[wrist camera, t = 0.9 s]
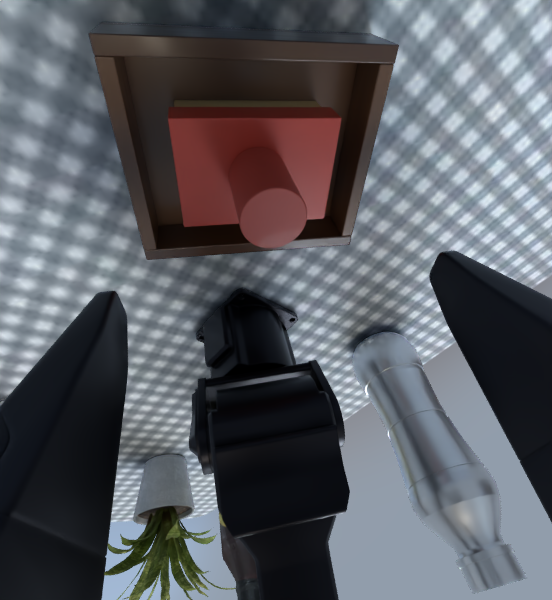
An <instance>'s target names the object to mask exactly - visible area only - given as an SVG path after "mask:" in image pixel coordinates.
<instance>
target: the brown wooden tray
mask: <svg viewBox="0 0 552 600" xmlns="http://www.w3.org/2000/svg"><path fill="white" fill-rule="evenodd" d="M89 38H90V42H91V46H92V49H93V53H94V55H95V61H96V65H97V69H98V73H99V77H100V81H101V85H102V89H103V92H104V96H105V100H106V104H107V108H108V112H109V116H110V120H111V123H112V127H113V131H114V135H115V139H116V143H117V147H118V151H119V155H120V158H121V162H122V166H123V170H124V174H125V178H126V182H127V186H128V189H129V193H130V197H131V201H132V205H133V209H134V213H135V217H136V221H137V224H138V228H139V232H140V236H141V240H142V244H143V248H144V251H145V255H146V259H147V260H152V259H166V258H179V257H192V256H205V255H219V254H232V253H245V252H258V251H272V250H285V249H298V248H311V247H325V246H338V245H349V244H350V240H351V235H352V232H353V228H354V224H355V219H356V215H357V211H358V207H359V203H360V199H361V195H362V191H363V187H364V183H365V179H366V175H367V171H368V167H369V163H370V159H371V155H372V151H373V147H374V143H375V139H376V135H377V131H378V127H379V123H380V119H381V115H382V111H383V107H384V103H385V99H386V95H387V91H388V87H389V83H390V79H391V75H392V71H393V66H394V65H393V64H394V63H395V59H396V55H397V51H398V47H399V45H398V44H395V43H393V42H390V41H388V40H385V39H383V38H380V37H378V36H375V35H373V34H362V33H340V32H317V31H294V30H271V29H248V28H225V27H203V26H180V25H157V24H134V23H111V22H101V23H100V24H99V25H98V26H96V27H95V28H94V29H93V30H92V31H91V32H90V33H89ZM174 100H253V101H316V102H317V103H318V104H319V105H320V106H321V107H331V108H332V109H333V110H334V111H335V112H336V113H337V114H338V115H339V116H340V117H341V118H342V119H341V125H340V130H339V136H338V142H337V148H336V153H335V159H334V165H333V170H332V176H331V182H330V187H329V193H328V199H327V205H326V210H325V216H324V218H323V219H308V220H307V221H306V224H305V226H304V228H303V230H302V232H301V233H300V234H299V236H298V237H296V238H295V239H294V240H293V241H292V242H290V243H288V244H286V245H284V246H281V247H277V248H262V247H259V246H256V245H254V244H252V243H251V242H249V241H248V240H247V239H246V238H245V237H244V235H243V234H242V232H241V229H240V225H239V224H225V225H208V226H191V227H184V224H183V217H182V211H181V204H180V197H179V191H178V184H177V177H176V171H175V164H174V157H173V151H172V144H171V137H170V131H169V124H168V108H169V107H174Z"/></svg>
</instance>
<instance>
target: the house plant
mask: <svg viewBox="0 0 552 600" xmlns="http://www.w3.org/2000/svg"><path fill="white" fill-rule="evenodd" d="M194 509H195V508H194V502H193V497H192V492H191V486H190V481H189V475H188V470H187V464H186V459H185V458H184V457H183V456H180V455H175V454H167V455H160V456H156V457H154V458H151V459H150V460H148V461H147V462H146V464H145V467H144V472H143V476H142V481H141V485H140V490H139V494H138V499H137V503H136V508H135V512H134V517H133V520H134V522H136V523H138V524H141V525H146V528H145V530H144V532H143V533H142V535H141V536H140V537H139V538H138V539H137V540H128V539H126V538H123V537H122V536H121V539H122V544H124V545H127V546H130V545H133V546H132V547H131V549H129V550H121V549H117V548H114V547H112V546H111V545H110V544H108V549H109V550H110V551H111V552H113V553H115V554H122V553H127V552H129V551H131V550H132V549H134V550H133V551H132V553H131V554H130V555H129V556H128V557H127V558H126V559H125V560H124V561H122V562H120V563H119V564H117V565H116V566H114V567H113V568H111V569H110V570H109V571H106V572H105V574H104V575H115V574H119V573H122V572H124V571H127V570H129V569H130V568H132V567H133V566H135V565H137V564H140V563H142V562H143V561H144V563H143V565H144V564H145V562H146V560H147V559H148V560H147V563H146V565H145V567H144V570H143V572H142V574H141V576H140V579H139V580H138V582H137V584H136V585H135V588H134V590H133V592H132V593H131V595H130V598H129V597H127V598H129V600H139V599H140V597H141V595H142V593H143V592H144V590H146V589H147V588H149V587H150V586H151V585H152V584H153V582H154V581H155V580H156V578H157V580H156V582H155V585H154V587H153V589H152V592H151V594H150V596H149V598H148V600H150V597H151V596H152V594H153V591H154V589H155V586H156V584H157V581H158V578H159V575H160V570H161V576H160V577H161V578H160V581H161V587H162V590H161V600H166V599H167V600H170V595H169V588H170V583H169V558H170V562H171V569H172V574H173V576H174V578H175V580H176V582H177V583H178V584H179V586H180V587H181V588H182V589H183V590H184V592H185V593H186V595H187V597H188V598H189V599H190V600H192V599H191V598H190V597H189V595H188V593H187V591H191V590H195V589H197V590H198V592H199V593H201V594H204V595H206V594H205V593H203V592H202V591H201V590H200V589H199V588H198V586H197V585H196V583H197V584H198V585H199V586H201V587H203V588H205V589H207V590H208V588H207V587H206V586H205V585H204V584H203V583H202V582H201V581H200V579H199V577H198V575H197V574H196V573H198V574H201V576H202V577H203V578H204V579H205V580H206V581H207V579H206V578H205V577H204V576H203V575H202V574H204V573H206V572H202V571H201V570H200V569H199V568H198V567H197V566H196V564H195V562H194V561H193V559H192V557H191V556H190V554H189V551H188V549H187V546H186V543H185V540H184V539H188V538H190V537H191V538H192V539H193V540H194V541H196V542H198V543H201V544H208V543H210V542H212V541H213V540H214V538H215V536H213V537H209V538H204V539H203V538H196V537H193V536H192V535H198V536H199V535H203V534H206V533H208V532H209V531H206V532H203V533H191V532H187V530H186V529H185V527H184V526H183V524H182V523H181V521H180V520H181V519H184V518H186V517H188V516H190V515H191V514H192V513H193V512H194ZM179 521H180V523H181V525H182V527H183V528H184V529H183V528H182V527H181V526H180V523H179ZM186 533H187V534H188V535H187V534H186ZM156 534H157V535H156ZM155 536H156V538H155ZM154 538H155V540H154ZM153 541H154V543H153ZM152 543H153V545H152V548H151V550H150V552H149V553H148V554H147V555H145V556H144V554H145V553H146V552H147V551H148V549H149V548H150V546H151V544H152ZM180 544H181V545H180ZM143 556H144V557H143ZM142 557H143V558H142ZM179 561H180V562H181V564H182V566H183V569H184V571H185V574H186V575H187V577H188V578H189V580H190V581H191V582H192V584H193V585H194V586H195V588H193V587H192V585H191V584H190V583H189V582H188V580H187V579H186V577H185V575H184V574H183V571H182V569H181V566H180V564H179ZM143 565H142V567H143ZM142 567H141V568H140V570H141V569H142ZM140 570H139V572H140ZM139 572H138V574H139ZM195 572H196V573H195ZM138 574H137V575H138ZM137 575H136V576H137ZM157 576H158V577H157ZM207 582H208V583H210V582H209V581H207ZM131 583H132V582H131ZM210 584H211V585H213V584H212V583H210ZM213 586H214V587H217V588H220V589H230V588H221V587H218V586H215V585H213ZM127 588H128V587H127ZM231 589H236V588H231ZM186 590H187V591H186ZM125 591H126V590H125ZM125 591H124V592H125ZM206 596H207V595H206ZM120 597H121V596H120ZM120 597H119V598H120ZM207 597H208V596H207ZM119 598H118V599H119ZM118 599H117V600H118ZM125 599H126V598H125Z"/></svg>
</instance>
